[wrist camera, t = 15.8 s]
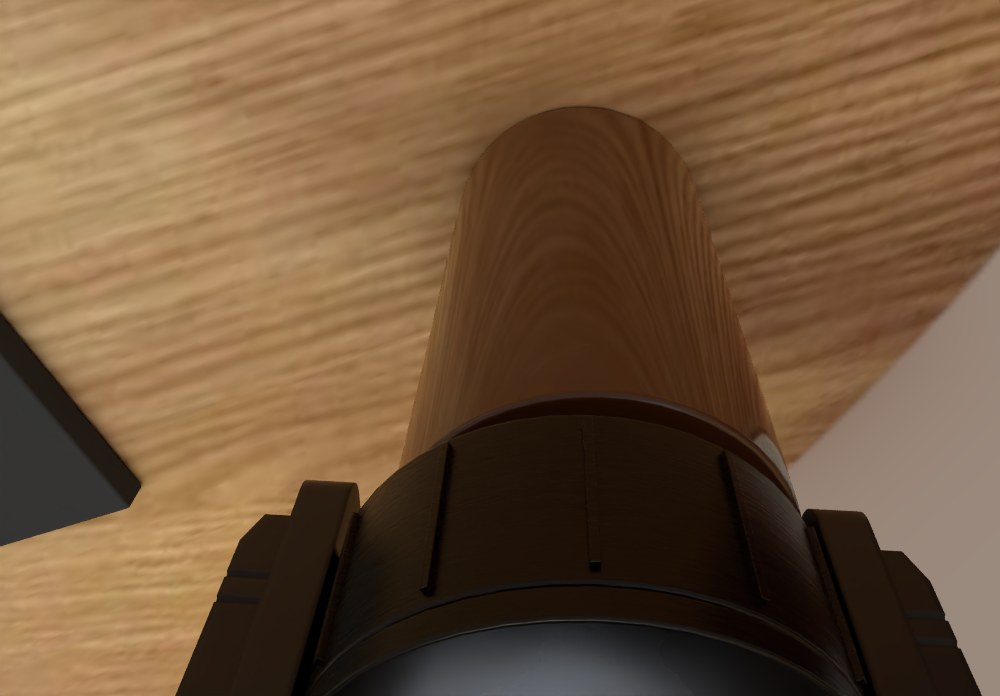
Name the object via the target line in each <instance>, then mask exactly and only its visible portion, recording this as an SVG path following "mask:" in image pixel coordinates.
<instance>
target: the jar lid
mask: <svg viewBox="0 0 1000 696" xmlns="http://www.w3.org/2000/svg"><path fill="white" fill-rule="evenodd" d="M866 684H867V681H866V678H865V675H864V672H863V669H862V666H861V663H860V661H859V658H858V655H857V652H856V649H855V646H854V643H853V640H852V637H851V634H850V631H849V628H848V625H847V622H846V620H845V617H844V614H843V611H842V608H841V605H840V602H839V599H838V596H837V593H836V590H835V587H834V584H833V581H832V579H831V576H830V573H829V570H828V567H827V564H826V561H825V558H824V555H823V552H822V549H821V546H820V543H819V540H818V538H817V535H816V532H815V530H814V528H813V526H810V527H806V524H805V522H804V521H803V519H802V518H801V516H800V515H799V513H798V512H797V510H796V509H795V507H794V506H793V504H792V503H791V501H790V500H789V499H788V498H787V497H786V496H785V495H784V494H783V493H782V492H781V491H780V490H779V489H778V487H777V486H776V485H775V484H774V483H773V482H772V481H771V480H769V479H768V478H767V477H766V476H764V475H763V474H762V473H760V472H759V471H758V470H757V469H755V468H754V467H753V466H752V465H750V464H749V463H748V462H746V461H744V460H743V459H741V458H739V457H738V456H736V455H734V454H733V453H732V452H730V451H728V450H726V449H724V448H722V447H721V446H718V445H716V444H714V443H711V442H709V441H707V440H704V439H702V438H700V437H697V436H695V435H693V434H690V433H687V432H683V431H680V430H677V429H673V428H670V427H667V426H663V425H660V424H656V423H651V422H645V421H640V420H634V419H629V418H623V417H612V416H599V415H550V416H542V417H535V418H527V419H519V420H513V421H509V422H505V423H501V424H496V425H492V426H488V427H484V428H480V429H477V430H475V431H472V432H469V433H466V434H464V435H461V436H458V437H455V438H452V439H450V440H448V441H446V442H444V443H442V444H440V445H438V446H436V447H434V448H432V449H430V450H428V451H426V452H424V453H422V454H421V455H419V456H418V457H416V458H415V459H413V460H412V461H410V462H409V463H407V464H406V465H404V466H403V467H401V468H400V469H398V470H397V471H396V472H395V473H394V474H393V475H392V476H390V477H389V478H388V479H387V480H386V481H385V482H384V483H383V484H382V485H380V486H379V487H378V488H377V489H376V490H375V491H374V493H373V494H372V495H371V496H370V498H369V499H368V500H367V501H366V503H365V504H364V505H363V506H362V508H361V509H360V510H359V512H358V513H356V512H354V513H353V514H352V515H351V517H350V521H349V525H348V529H347V533H346V537H345V541H344V544H343V547H342V550H341V554H340V558H339V561H338V565H337V569H336V573H335V577H334V581H333V585H332V588H331V592H330V596H329V600H328V604H327V608H326V611H325V615H324V619H323V623H322V627H321V631H320V635H319V638H318V642H317V646H316V650H315V654H314V658H313V662H312V665H311V669H310V673H309V677H308V681H307V685H306V689H305V692H304V696H865V695H864V692H863V689H862V685H866Z"/></svg>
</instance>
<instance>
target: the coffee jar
mask: <svg viewBox="0 0 1000 696" xmlns="http://www.w3.org/2000/svg"><path fill="white" fill-rule="evenodd" d="M550 415H599V416H612V417H623V418H629V419H634V420H640V421H645V422H651V423H656V424H660V425H663V426H667V427H670V428H673V429H677V430H680V431H683V432H687V433H690V434H693V435H695V436H697V437H700V438H702V439H704V440H707V441H709V442H711V443H714V444H716V445H718V446H721V447H722V448H724V449H726V450H728V451H730V452H732V453H733V454H734V455H736V456H738V457H739V458H741V459H743V460H744V461H746V462H748V463H749V464H750V465H752V466H753V467H754V468H755V469H757V470H758V471H759V472H760V473H762V474H763V475H764V476H766V477H767V478H768V479H769V480H771V481H772V482H773V483H774V484H775V485H776V486H777V487H778V489H779V490H780V491H781V492H782V493H783V494H784V495H785V496H786V497H787V498H788V499H789V500H790V501H791V503H792V504H793V506H794V507H795V509H796V510H797V512H798V513H799V515H800V516H801V514H800V510H799V506H798V502H797V499H796V496H795V493H794V490H793V487H792V483H791V481H790V477H789V474H788V471H787V468H786V465H785V462H784V459H783V456H782V452H781V449H780V446H779V443H778V440H777V437H776V434H775V431H774V428H773V425H772V422H771V418H770V415H769V412H768V409H767V406H766V403H765V400H764V397H763V394H762V391H761V388H760V384H759V381H758V378H757V375H756V372H755V369H754V366H753V363H752V360H751V357H750V354H749V351H748V347H747V344H746V341H745V338H744V335H743V332H742V329H741V326H740V323H739V320H738V317H737V313H736V310H735V307H734V304H733V301H732V298H731V295H730V292H729V289H728V286H727V283H726V279H725V276H724V273H723V270H722V267H721V264H720V261H719V258H718V255H717V252H716V249H715V246H714V242H713V239H712V236H711V233H710V230H709V227H708V224H707V221H706V218H705V215H704V212H703V208H702V205H701V202H700V199H699V196H698V193H697V190H696V187H695V184H694V181H693V179H692V176H691V174H690V172H689V169H688V167H687V166H686V164H685V162H684V161H683V159H682V158H681V156H680V154H679V153H678V152H677V151H676V150H675V149H674V147H673V146H672V145H671V144H670V143H669V142H668V141H667V140H666V139H665V138H664V137H662V136H661V135H660V134H659V133H658V132H657V131H655V130H653V129H652V128H650V127H649V126H647V125H646V124H644V123H642V122H640V121H638V120H636V119H634V118H632V117H630V116H627V115H624V114H621V113H618V112H615V111H610V110H605V109H599V108H585V107H577V108H564V109H559V110H554V111H549V112H545V113H542V114H540V115H537V116H534V117H531V118H529V119H527V120H525V121H523V122H521V123H519V124H517V125H515V126H514V127H512V128H511V129H509V130H508V131H506V132H505V133H503V134H502V135H501V136H500V137H499V138H498V139H496V140H495V141H494V142H493V143H492V144H491V145H490V146H489V147H488V148H487V149H486V151H485V152H484V153H483V154H482V155H481V156H480V158H479V159H478V161H477V163H476V164H475V166H474V167H473V169H472V171H471V173H470V175H469V177H468V179H467V181H466V184H465V187H464V191H463V194H462V197H461V202H460V206H459V210H458V215H457V219H456V223H455V228H454V232H453V236H452V241H451V245H450V249H449V254H448V258H447V262H446V267H445V271H444V275H443V280H442V284H441V288H440V293H439V297H438V301H437V306H436V310H435V314H434V319H433V323H432V327H431V332H430V336H429V340H428V345H427V349H426V353H425V358H424V362H423V366H422V371H421V375H420V379H419V383H418V388H417V392H416V396H415V401H414V405H413V409H412V414H411V418H410V422H409V427H408V431H407V435H406V440H405V444H404V448H403V453H402V457H401V461H400V466H399V469H400V468H401V467H403V466H404V465H406V464H407V463H409V462H410V461H412V460H413V459H415V458H416V457H418V456H419V455H421V454H422V453H424V452H426V451H428V450H430V449H432V448H434V447H436V446H438V445H440V444H442V443H444V442H446V441H448V440H450V439H452V438H455V437H458V436H461V435H464V434H466V433H469V432H472V431H475V430H477V429H480V428H484V427H488V426H492V425H496V424H501V423H505V422H509V421H513V420H519V419H527V418H535V417H542V416H550Z"/></svg>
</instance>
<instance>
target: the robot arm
mask: <svg viewBox="0 0 1000 696" xmlns="http://www.w3.org/2000/svg"><path fill="white" fill-rule="evenodd" d="M359 510H360V498H359V490H358V486H357V484H356V483H351V482H333V481H314V480H306V481H304V482H303V484H302V486H301V488H300V491H299V493H298V496H297V499H296V502H295V505H294V507H293V510H292V513H291V516H287V515H269V514H265V515H264V516H263V517H262V518H261V519H260V520H259V521H258V522H257V523H256V524H255V525H254V526H253V527H252V528H251V529H250V530H249V531H248V532H247V533H246V534H245V535H244V536H243V537H242V538H241V539H240V541H239V543H238V546H237V548H236V551H235V553H234V555H233V558H232V560H231V563H230V565H229V567H228V570H227V576H226V577H224V580H223V582H222V584H221V587H220V589H219V592H218V594H217V601H216V602H214V604H213V606H212V609H211V611H210V613H209V616H208V618H207V621H206V623H205V625H204V628H203V630H202V633H201V635H200V638H199V640H198V642H197V645H196V647H195V650H194V652H193V654H192V657H191V659H190V662H189V664H188V667H187V669H186V671H185V674H184V676H183V679H182V681H181V683H180V686H179V688H178V691H177V693H176V695H175V696H304V692H305V689H306V685H307V681H308V677H309V673H310V669H311V665H312V662H313V658H314V654H315V650H316V646H317V642H318V638H319V635H320V631H321V627H322V623H323V619H324V615H325V611H326V608H327V604H328V600H329V596H330V592H331V588H332V585H333V581H334V577H335V573H336V569H337V565H338V561H339V558H340V554H341V550H342V547H343V544H344V541H345V537H346V533H347V529H348V525H349V521H350V517H351V515H352V514H353V513H354V512H356V513H358V512H359ZM802 519H803V521H804V522H805V524H806V527H810V526H813V528H814V530H815V532H816V535H817V538H818V540H819V543H820V546H821V549H822V552H823V555H824V558H825V561H826V564H827V567H828V570H829V573H830V576H831V579H832V581H833V584H834V587H835V590H836V593H837V596H838V599H839V602H840V605H841V608H842V611H843V614H844V617H845V620H846V622H847V625H848V628H849V631H850V634H851V637H852V640H853V643H854V646H855V649H856V652H857V655H858V658H859V661H860V663H861V666H862V669H863V672H864V675H865V678H866V681H867V684H866V685H862V689H863V692H864V695H865V696H982V695H981V693H980V690H979V688H978V686H977V684H976V682H975V679H974V677H973V675H972V673H971V671H970V668H969V666H968V664H967V662H966V659H965V657H964V655H963V653H962V651H961V649H959V648H958V647H957V640H956V637H955V635H954V633H953V631H952V629H951V626H950V624H949V622H948V621H945V613H944V611H943V609H942V606H941V604H940V602H939V600H938V598H937V595H936V593H935V591H934V589H933V586H932V584H931V582H930V581H929V580H928V578H927V577H926V576H925V575H924V574H923V573H922V572H921V571H920V570H919V569H918V568H917V567H916V566H915V565H914V564H913V563H912V562H911V561H910V560H909V558H908V557H907V556H906V555H905V554H904V553H903V552H901V551H884V550H880V547H879V545H878V542H877V540H876V538H875V535H874V533H873V530H872V528H871V526H870V523H869V521H868V519H867V517H866V516H865V514H863V513H862V512H857V511H838V510H837V511H836V510H819V509H807V510H806V511H805V512H804V514H803V516H802Z"/></svg>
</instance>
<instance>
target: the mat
mask: <svg viewBox="0 0 1000 696" xmlns="http://www.w3.org/2000/svg"><path fill="white" fill-rule="evenodd" d="M140 488H141V485H140V484H139V483H138V481H137V480H136V479H135V478H134V476H133V475H132V474H131V473H130V472H129V470H128V469H127V468H126V467H125V466H124V464H123V463H122V462H121V461H120V459H119V458H118V457H117V456H116V455H115V453H114V452H113V451H112V450H111V448H110V447H109V446H108V445H107V444H106V442H105V441H104V440H103V439H102V438H101V436H100V435H99V434H98V433H97V431H96V430H95V429H94V428H93V427H92V425H91V424H90V423H89V422H88V421H87V419H86V418H85V417H84V416H83V414H82V413H81V412H80V411H79V410H78V408H77V407H76V406H75V405H74V404H73V402H72V401H71V400H70V399H69V397H68V396H67V395H66V394H65V393H64V391H63V390H62V389H61V388H60V387H59V385H58V384H57V383H56V382H55V380H54V379H53V378H52V377H51V376H50V374H49V373H48V372H47V371H46V369H45V368H44V367H43V366H42V365H41V363H40V362H39V361H38V360H37V359H36V357H35V356H34V355H33V354H32V352H31V351H30V350H29V349H28V348H27V346H26V345H25V344H24V343H23V342H22V340H21V339H20V338H19V337H18V335H17V334H16V333H15V332H14V331H13V329H12V328H11V327H10V326H9V325H8V323H7V322H6V321H5V320H4V318H3V317H2V316H1V315H0V546H3V545H6V544H10V543H13V542H16V541H20V540H23V539H26V538H30V537H33V536H36V535H40V534H43V533H46V532H50V531H53V530H56V529H60V528H63V527H66V526H70V525H73V524H76V523H80V522H83V521H86V520H90V519H93V518H96V517H100V516H103V515H106V514H110V513H113V512H116V511H120V510H123V509H126V508H128V507H130V505H131V503H132V502H133V500H134V498H135V497H136V495H137V493H138V491H139V490H140Z"/></svg>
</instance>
